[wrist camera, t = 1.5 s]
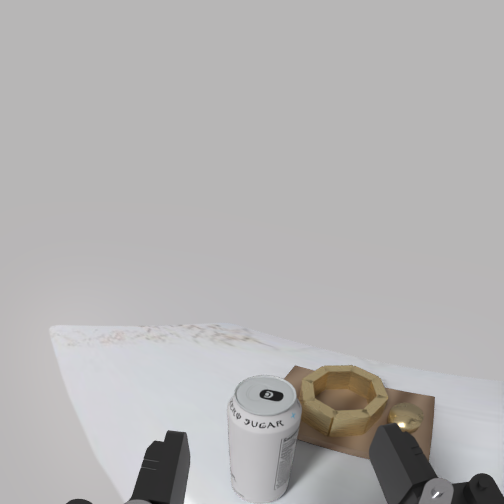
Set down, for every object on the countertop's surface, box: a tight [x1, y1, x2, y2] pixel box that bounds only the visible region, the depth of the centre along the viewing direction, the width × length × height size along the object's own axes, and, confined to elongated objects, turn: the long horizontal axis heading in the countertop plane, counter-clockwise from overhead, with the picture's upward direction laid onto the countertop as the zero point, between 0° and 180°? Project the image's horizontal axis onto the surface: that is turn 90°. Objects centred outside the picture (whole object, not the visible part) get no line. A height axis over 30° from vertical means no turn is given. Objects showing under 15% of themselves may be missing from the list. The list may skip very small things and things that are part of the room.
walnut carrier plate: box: [284, 366, 435, 461], centre depth 36 cm, size 24×14×1 cm, turn 60°
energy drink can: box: [227, 375, 302, 504], centre depth 23 cm, size 6×6×15 cm
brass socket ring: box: [299, 365, 424, 437], centre depth 35 cm, size 17×12×4 cm
